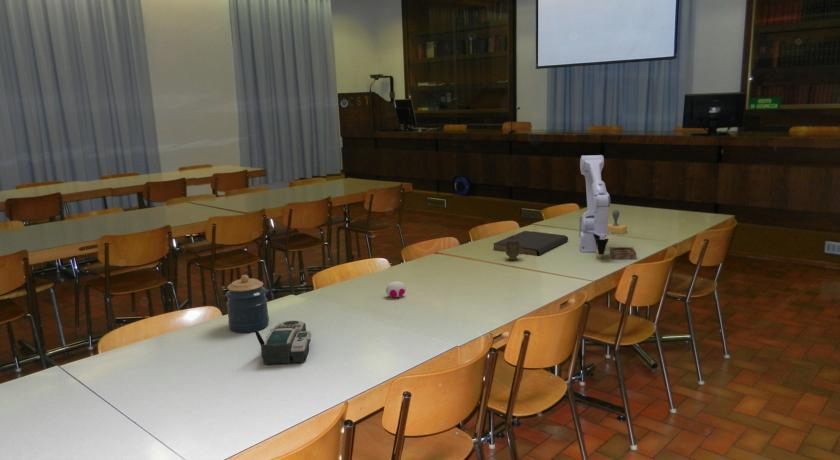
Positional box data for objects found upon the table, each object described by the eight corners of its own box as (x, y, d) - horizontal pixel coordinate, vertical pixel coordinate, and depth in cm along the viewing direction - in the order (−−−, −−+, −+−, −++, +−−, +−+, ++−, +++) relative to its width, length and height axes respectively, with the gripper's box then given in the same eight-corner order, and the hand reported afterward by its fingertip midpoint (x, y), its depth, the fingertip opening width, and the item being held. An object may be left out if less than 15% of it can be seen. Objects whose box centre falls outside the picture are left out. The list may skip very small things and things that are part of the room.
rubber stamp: (604, 232, 328) (604, 209, 325) (609, 230, 332) (609, 208, 329) (622, 234, 321) (623, 211, 319) (627, 232, 325) (627, 209, 323)
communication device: (318, 330, 203) (316, 299, 201) (307, 365, 175) (305, 329, 173) (273, 332, 202) (271, 301, 200) (256, 367, 174) (253, 332, 172)
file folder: (524, 229, 323) (568, 235, 309) (524, 237, 324) (568, 243, 310) (492, 242, 297) (539, 249, 283) (492, 251, 298) (539, 257, 284)
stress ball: (388, 307, 230) (389, 296, 226) (383, 290, 236) (384, 279, 231) (408, 304, 232) (409, 293, 227) (403, 288, 237) (404, 276, 233)
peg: (596, 259, 275) (597, 241, 273) (596, 257, 278) (596, 239, 276) (604, 259, 274) (604, 241, 272) (603, 257, 277) (603, 239, 275)
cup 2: (598, 238, 313) (598, 219, 311) (581, 239, 314) (581, 219, 312) (593, 235, 322) (594, 216, 320) (577, 235, 322) (578, 216, 320)
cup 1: (520, 257, 282) (520, 240, 280) (521, 261, 275) (521, 244, 273) (504, 257, 283) (504, 240, 281) (504, 261, 276) (504, 244, 274)
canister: (253, 317, 216) (249, 267, 212) (277, 324, 207) (273, 273, 204) (220, 328, 206) (215, 276, 202) (244, 336, 198) (239, 283, 194)
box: (612, 259, 274) (612, 252, 273) (609, 253, 284) (609, 247, 283) (636, 259, 272) (636, 252, 272) (632, 253, 282) (632, 247, 281)
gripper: (612, 225, 265) (611, 256, 268) (608, 218, 279) (607, 248, 281) (595, 225, 266) (594, 255, 269) (592, 218, 280) (591, 248, 283)
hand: (600, 252), depth 275 cm, fingers open, 7 cm apart
